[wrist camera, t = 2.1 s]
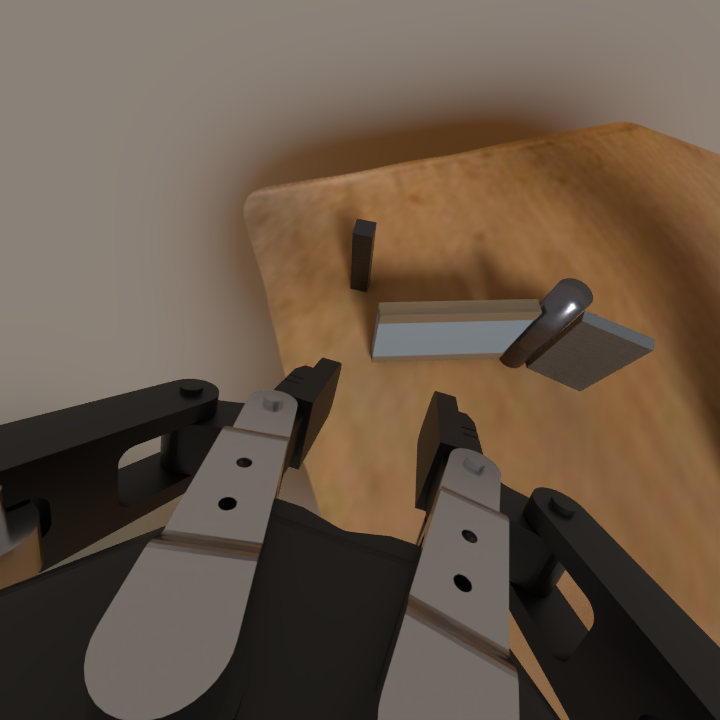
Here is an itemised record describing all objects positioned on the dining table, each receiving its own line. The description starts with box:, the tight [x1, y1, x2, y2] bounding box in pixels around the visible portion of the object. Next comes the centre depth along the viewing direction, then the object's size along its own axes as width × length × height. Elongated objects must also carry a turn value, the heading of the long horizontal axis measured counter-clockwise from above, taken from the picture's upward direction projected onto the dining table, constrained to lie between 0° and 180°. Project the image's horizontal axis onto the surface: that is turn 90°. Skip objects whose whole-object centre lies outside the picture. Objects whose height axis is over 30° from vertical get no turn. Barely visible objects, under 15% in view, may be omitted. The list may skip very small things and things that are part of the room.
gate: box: [371, 299, 542, 362], centre depth 34 cm, size 14×1×9 cm, turn 93°
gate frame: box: [351, 219, 655, 391], centre depth 36 cm, size 29×3×12 cm, turn 62°
